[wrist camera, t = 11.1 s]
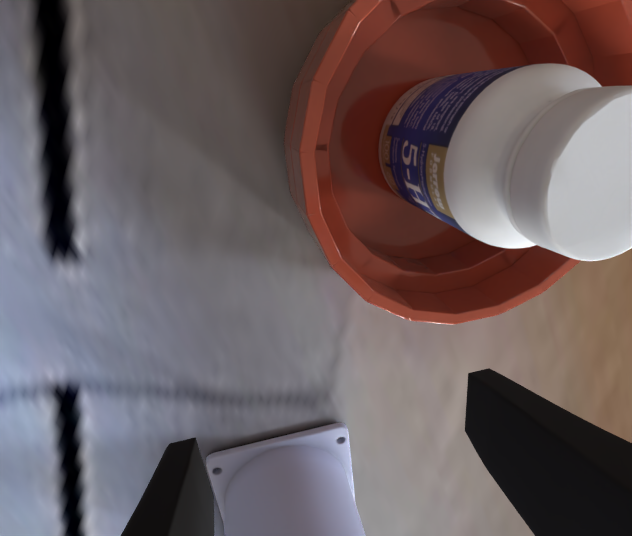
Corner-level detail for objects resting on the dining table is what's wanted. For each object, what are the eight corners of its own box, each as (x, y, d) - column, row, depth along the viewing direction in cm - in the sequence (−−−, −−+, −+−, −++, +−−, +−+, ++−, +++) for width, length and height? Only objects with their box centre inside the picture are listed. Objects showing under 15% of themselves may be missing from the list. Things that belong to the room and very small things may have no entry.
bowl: (539, 255, 21) (614, 290, 17) (302, 300, 19) (323, 353, 15) (578, -41, 16) (700, -94, 12) (259, -19, 14) (272, -72, 10)
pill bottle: (350, 143, 16) (472, 177, 8) (446, 47, 15) (683, -20, 7) (422, 228, 18) (575, 323, 10) (509, 147, 18) (745, 180, 10)
